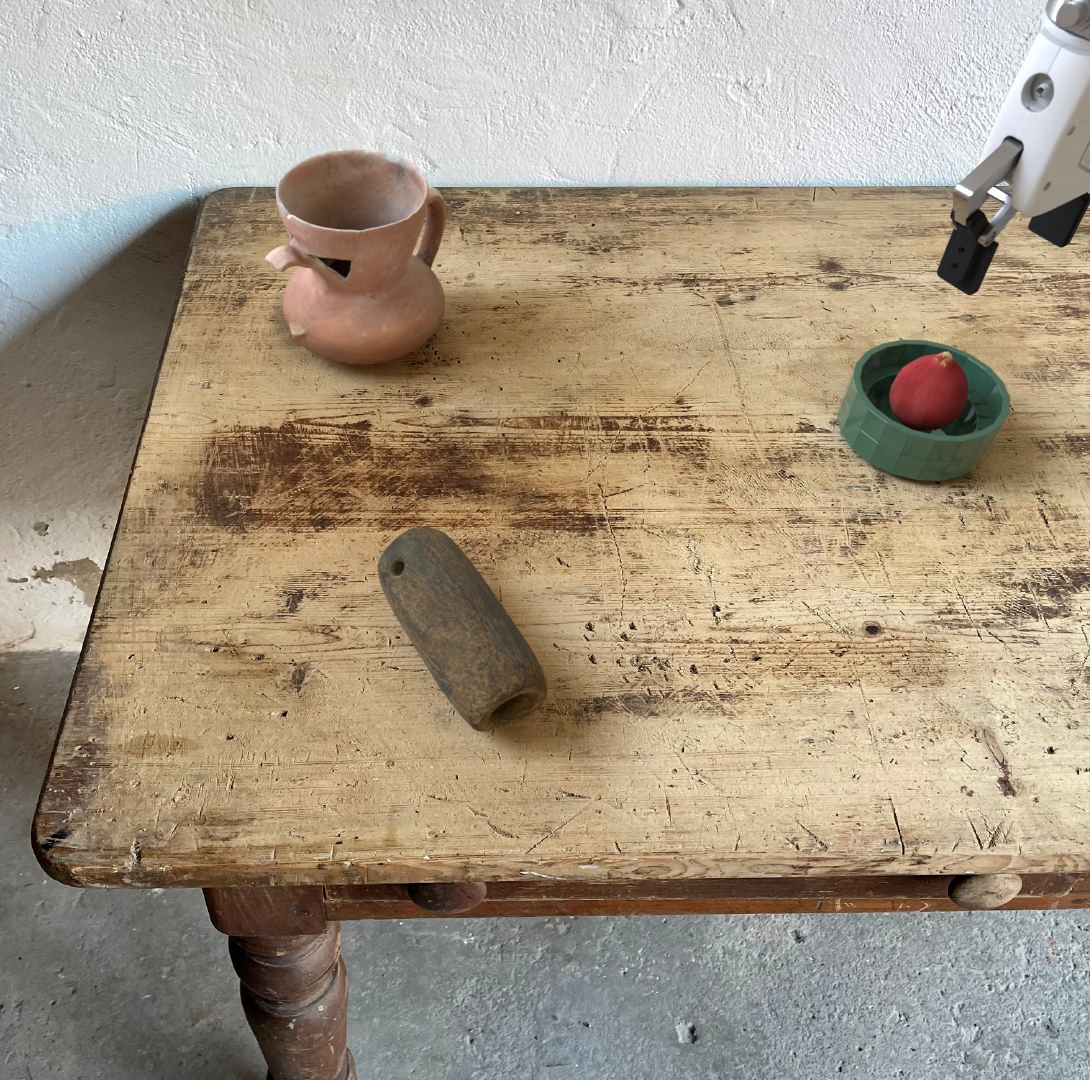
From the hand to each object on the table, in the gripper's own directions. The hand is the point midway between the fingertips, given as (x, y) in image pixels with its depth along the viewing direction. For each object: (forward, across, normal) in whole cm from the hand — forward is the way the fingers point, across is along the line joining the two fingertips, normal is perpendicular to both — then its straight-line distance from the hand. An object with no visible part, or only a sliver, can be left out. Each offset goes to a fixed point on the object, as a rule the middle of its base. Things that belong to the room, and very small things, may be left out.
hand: (1002, 260), depth 71 cm
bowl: (+16, -1, 0) cm, 17 cm away
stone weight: (+16, -45, +2) cm, 48 cm away
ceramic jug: (+16, -32, +38) cm, 52 cm away
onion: (+16, -1, 0) cm, 16 cm away
